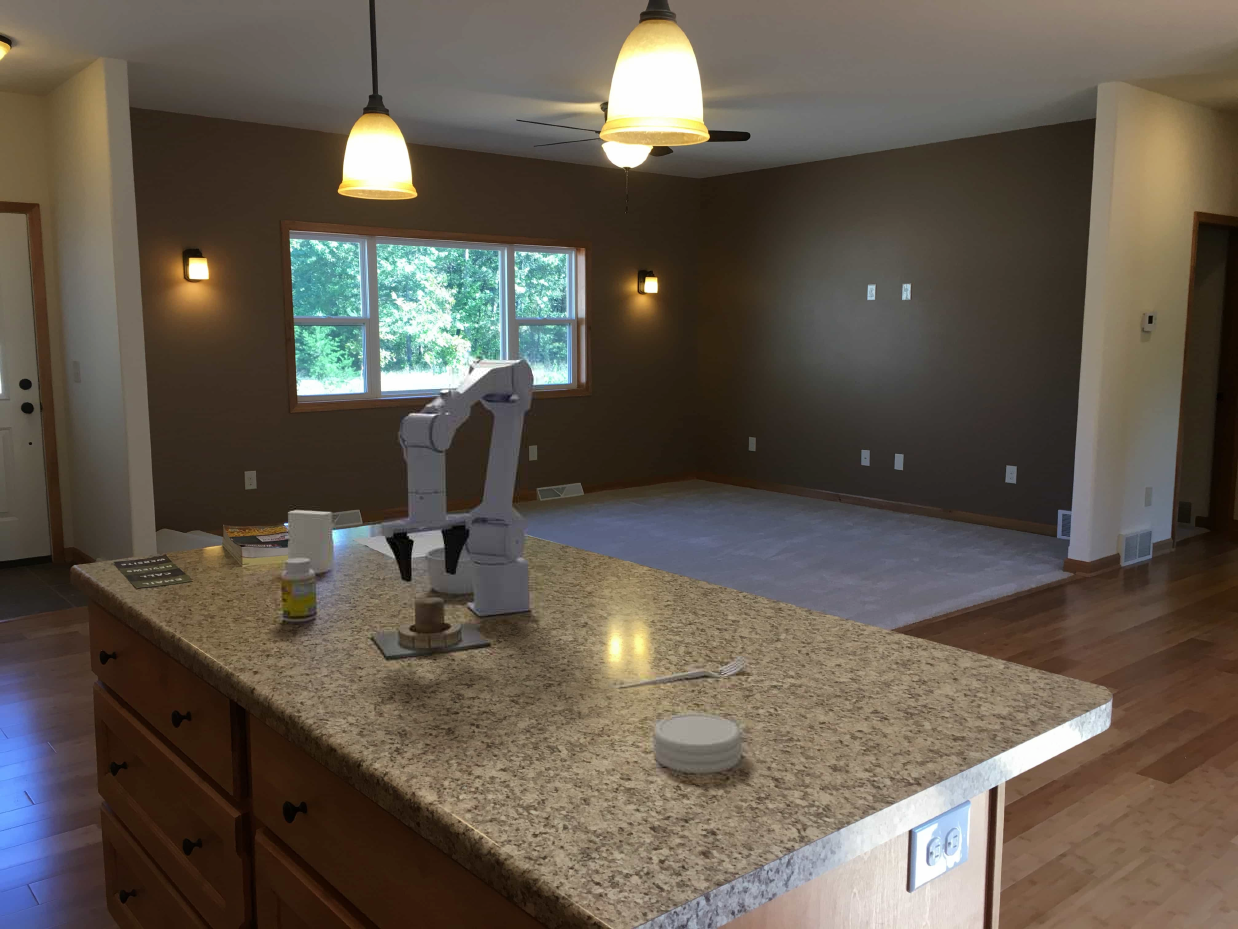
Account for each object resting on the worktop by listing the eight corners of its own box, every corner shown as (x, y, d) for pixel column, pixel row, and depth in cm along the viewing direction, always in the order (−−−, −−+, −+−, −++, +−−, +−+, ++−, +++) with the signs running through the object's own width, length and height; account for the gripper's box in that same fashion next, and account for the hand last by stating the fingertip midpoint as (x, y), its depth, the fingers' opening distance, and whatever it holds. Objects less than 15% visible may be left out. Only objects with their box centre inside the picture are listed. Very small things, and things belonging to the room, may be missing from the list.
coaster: (733, 739, 116) (734, 711, 116) (748, 776, 106) (748, 745, 106) (650, 740, 116) (650, 712, 115) (656, 777, 106) (656, 746, 105)
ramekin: (489, 596, 181) (489, 560, 180) (419, 596, 181) (418, 559, 181) (499, 579, 194) (499, 545, 194) (434, 579, 195) (433, 545, 194)
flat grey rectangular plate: (468, 625, 162) (468, 612, 162) (490, 645, 151) (490, 631, 151) (371, 637, 155) (371, 623, 155) (387, 659, 144) (386, 644, 144)
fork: (612, 689, 134) (612, 676, 134) (739, 668, 142) (739, 655, 142) (621, 697, 131) (621, 683, 131) (750, 674, 139) (750, 662, 139)
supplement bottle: (283, 615, 168) (280, 557, 167) (316, 613, 169) (314, 555, 168) (282, 624, 162) (279, 564, 161) (317, 622, 164) (314, 562, 163)
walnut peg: (435, 632, 156) (435, 596, 156) (449, 639, 153) (449, 601, 152) (410, 637, 154) (409, 600, 153) (424, 644, 150) (423, 606, 149)
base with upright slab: (280, 572, 200) (277, 514, 199) (306, 563, 209) (304, 507, 207) (318, 575, 198) (315, 517, 196) (342, 565, 206) (341, 509, 205)
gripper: (456, 483, 158) (457, 566, 160) (371, 492, 149) (374, 578, 151) (478, 489, 152) (479, 574, 154) (391, 497, 144) (394, 587, 145)
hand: (428, 577), depth 152 cm, fingers open, 7 cm apart
